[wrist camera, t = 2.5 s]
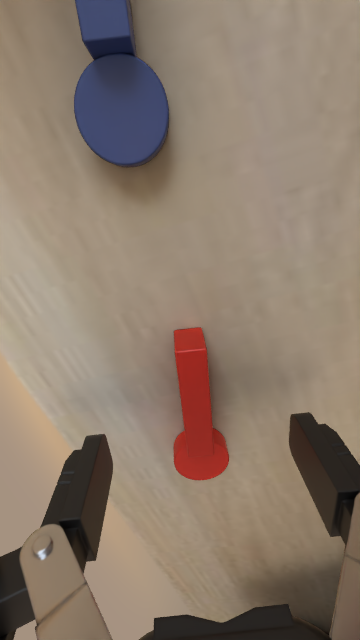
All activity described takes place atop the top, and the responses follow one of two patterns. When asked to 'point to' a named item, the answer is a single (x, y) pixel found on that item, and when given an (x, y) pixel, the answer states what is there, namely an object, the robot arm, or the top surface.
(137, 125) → the blue bar with disc
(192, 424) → the red spoon
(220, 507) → the top surface
